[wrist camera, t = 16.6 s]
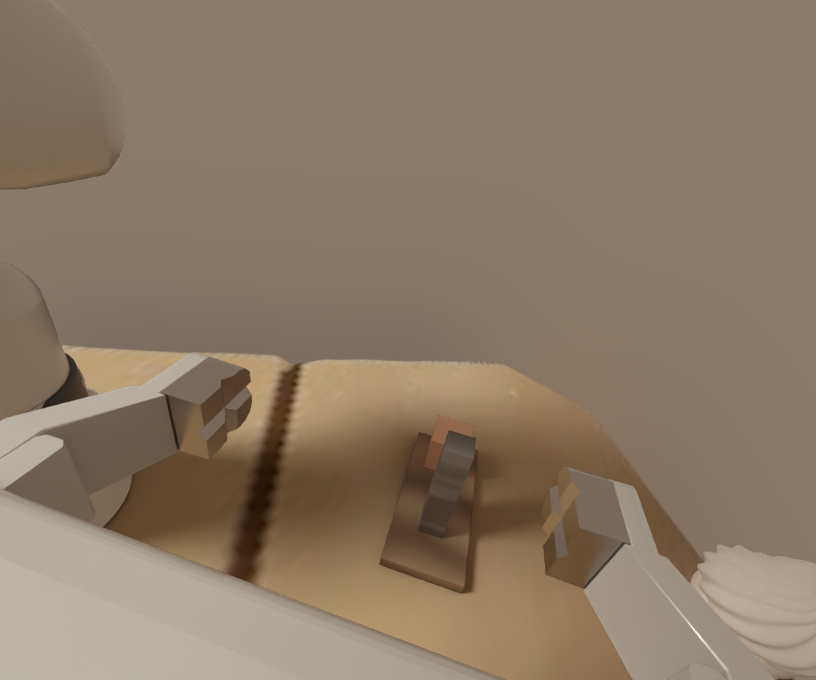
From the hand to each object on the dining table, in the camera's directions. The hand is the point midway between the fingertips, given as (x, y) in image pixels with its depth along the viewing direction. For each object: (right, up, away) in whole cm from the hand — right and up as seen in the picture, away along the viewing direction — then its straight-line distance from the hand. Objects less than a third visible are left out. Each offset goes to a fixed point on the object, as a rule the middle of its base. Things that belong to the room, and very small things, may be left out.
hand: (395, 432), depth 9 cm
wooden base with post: (+3, -16, +33) cm, 37 cm away
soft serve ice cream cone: (+25, -26, +24) cm, 43 cm away
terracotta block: (+5, -12, +37) cm, 39 cm away
